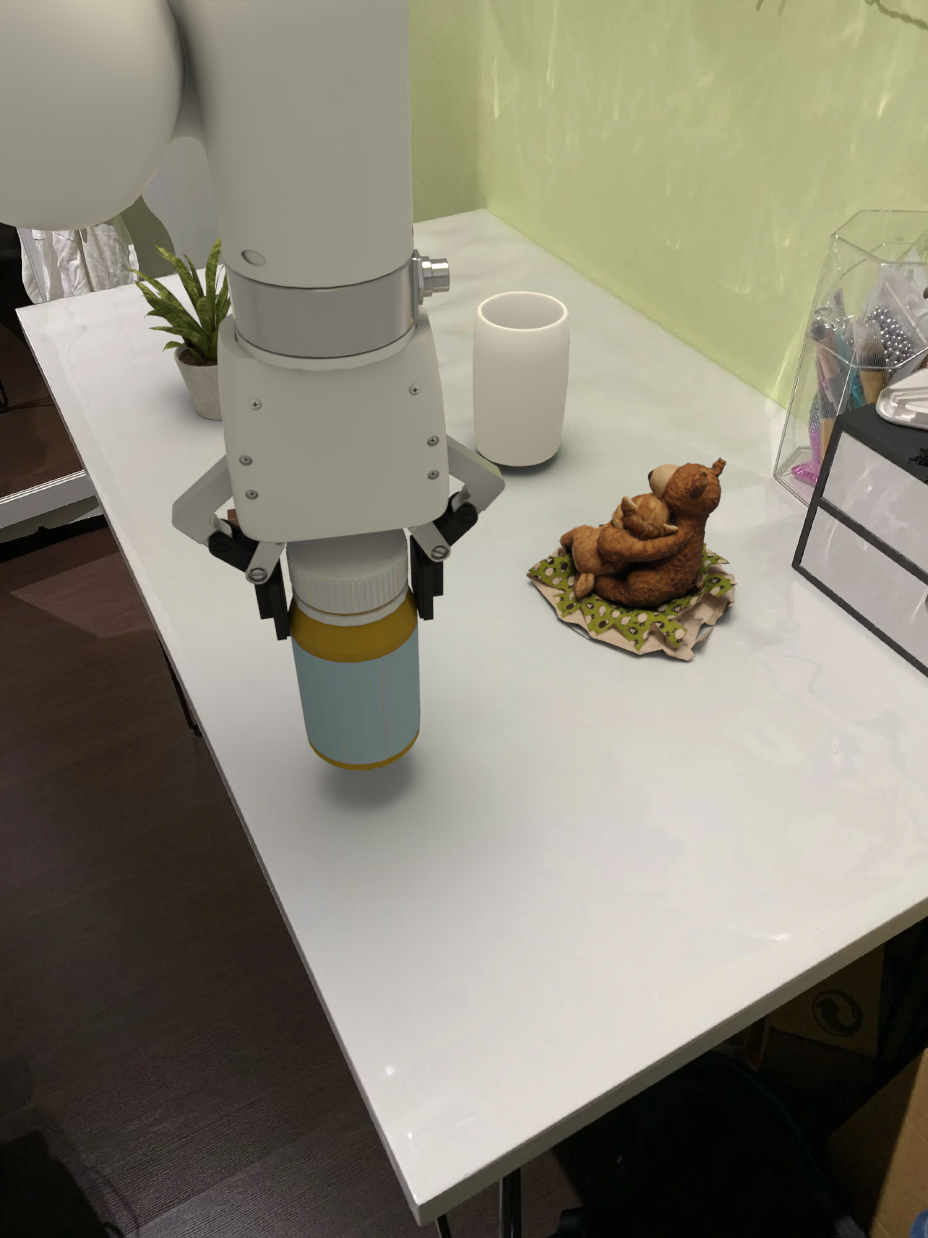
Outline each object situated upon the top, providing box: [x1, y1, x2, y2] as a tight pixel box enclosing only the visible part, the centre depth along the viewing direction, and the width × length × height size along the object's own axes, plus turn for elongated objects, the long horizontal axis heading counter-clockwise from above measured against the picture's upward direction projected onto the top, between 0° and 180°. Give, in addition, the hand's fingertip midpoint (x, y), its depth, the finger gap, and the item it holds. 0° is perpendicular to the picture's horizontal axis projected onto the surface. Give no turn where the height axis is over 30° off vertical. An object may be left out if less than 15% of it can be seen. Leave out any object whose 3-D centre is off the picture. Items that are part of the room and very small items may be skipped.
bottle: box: [285, 528, 421, 772], centre depth 51 cm, size 7×7×15 cm
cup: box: [472, 291, 571, 467], centre depth 81 cm, size 8×8×14 cm
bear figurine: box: [525, 457, 738, 662], centre depth 67 cm, size 14×15×12 cm
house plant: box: [122, 236, 231, 421], centre depth 88 cm, size 14×14×16 cm
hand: (352, 611), depth 49 cm, fingers closed on bottle, 7 cm apart
